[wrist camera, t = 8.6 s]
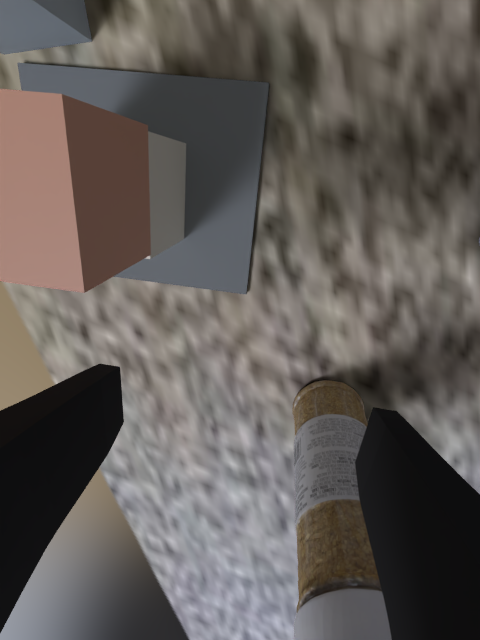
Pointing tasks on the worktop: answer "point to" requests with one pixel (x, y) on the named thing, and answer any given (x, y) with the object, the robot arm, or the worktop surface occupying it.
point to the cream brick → (166, 192)
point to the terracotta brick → (70, 191)
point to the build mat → (187, 160)
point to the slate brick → (42, 24)
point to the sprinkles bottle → (333, 520)
